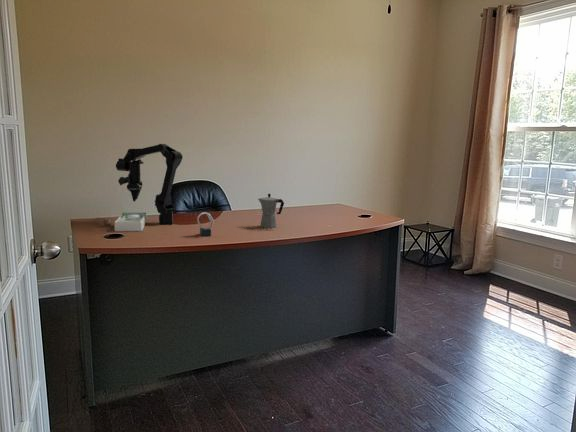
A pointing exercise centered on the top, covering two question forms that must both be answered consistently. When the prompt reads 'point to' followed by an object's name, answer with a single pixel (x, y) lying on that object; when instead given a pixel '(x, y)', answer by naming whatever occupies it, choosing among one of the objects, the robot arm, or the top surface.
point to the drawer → (125, 214)
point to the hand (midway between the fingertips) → (135, 200)
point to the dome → (133, 217)
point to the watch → (207, 230)
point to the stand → (106, 222)
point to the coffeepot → (269, 211)
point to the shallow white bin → (129, 225)
